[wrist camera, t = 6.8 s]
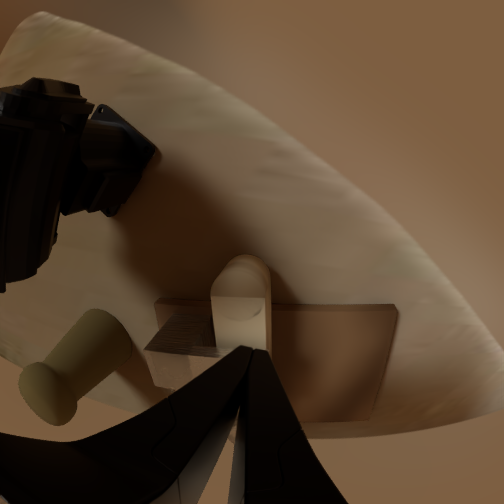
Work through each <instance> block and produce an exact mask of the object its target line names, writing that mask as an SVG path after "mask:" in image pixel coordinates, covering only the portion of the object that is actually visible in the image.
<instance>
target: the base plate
mask: <svg viewBox="0 0 504 504" xmlns="http://www.w3.org/2000/svg"><path fill="white" fill-rule="evenodd" d="M154 306H155V311H156V316H157V321H158V326H159V330H160V329H161V327H162V326H163V325H164V324H165V323H166V321H167V320H168V319H169V318H170V317H171V315H172V314H173V313H178V314H198V315H212V321H213V313H212V304H211V301H197V300H181V299H167V298H159V299H158V300H157V301H156V302H155V303H154ZM396 316H397V309H396V307H395V305H394V304H364V305H301V304H271V327H272V362H273V364H274V366H275V368H276V371H277V373H278V375H279V378H280V380H281V382H282V384H283V387H284V389H285V391H286V393H287V396H288V398H289V400H290V402H291V405H292V407H293V409H294V411H295V414H296V416H297V418H298V420H299V422H346V421H364V420H369V418H370V415H371V412H372V409H373V406H374V402H375V399H376V396H377V393H378V390H379V386H380V383H381V379H382V376H383V372H384V368H385V365H386V361H387V357H388V353H389V348H390V344H391V340H392V335H393V331H394V326H395V321H396ZM213 328H214V322H213ZM214 334H215V330H214ZM215 340H216V338H215ZM174 391H177V390H176V389H174Z"/></svg>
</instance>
